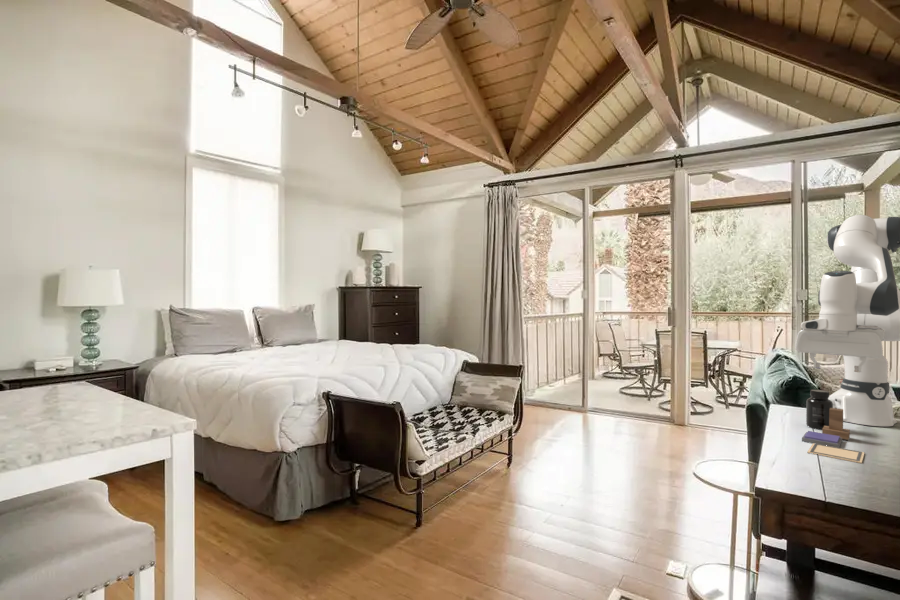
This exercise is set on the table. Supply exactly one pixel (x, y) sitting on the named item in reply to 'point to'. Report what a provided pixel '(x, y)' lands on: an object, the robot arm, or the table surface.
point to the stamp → (836, 425)
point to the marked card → (837, 453)
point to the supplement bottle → (818, 409)
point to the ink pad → (822, 439)
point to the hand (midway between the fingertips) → (836, 370)
